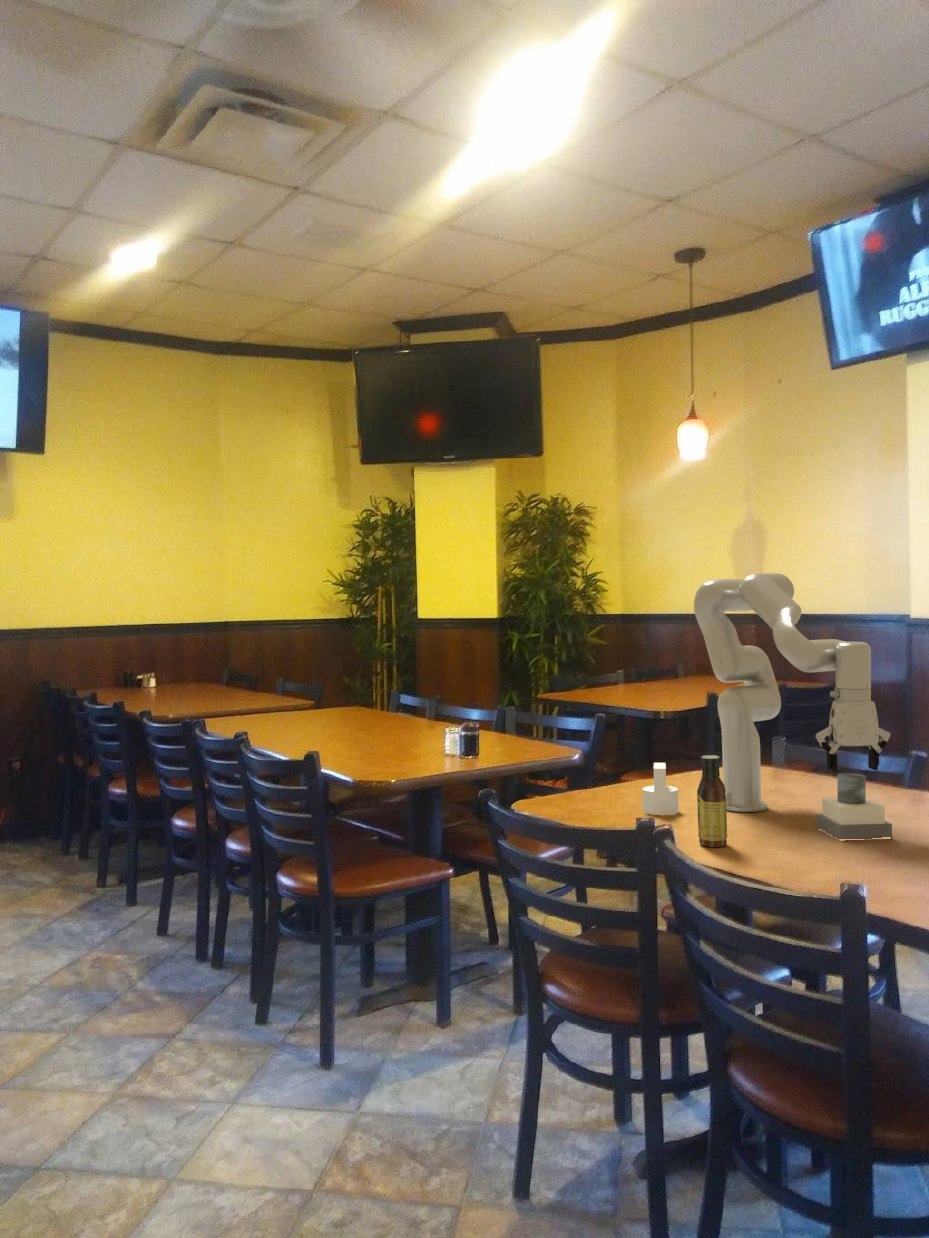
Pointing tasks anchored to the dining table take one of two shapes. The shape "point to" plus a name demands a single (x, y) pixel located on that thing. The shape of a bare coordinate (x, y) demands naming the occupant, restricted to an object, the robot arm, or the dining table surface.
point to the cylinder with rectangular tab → (660, 794)
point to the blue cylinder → (851, 788)
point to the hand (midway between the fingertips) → (852, 769)
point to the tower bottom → (853, 829)
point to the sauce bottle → (711, 804)
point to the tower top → (853, 812)
